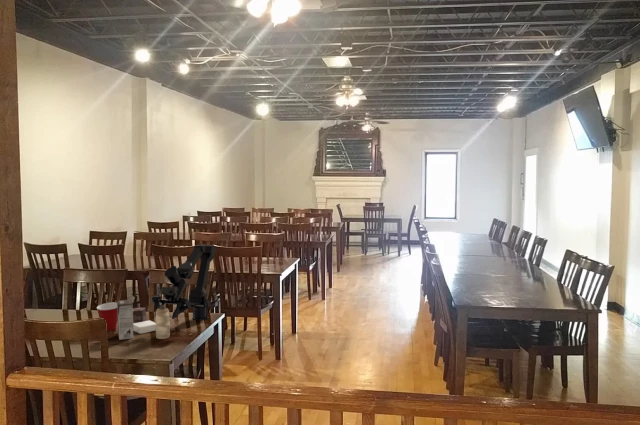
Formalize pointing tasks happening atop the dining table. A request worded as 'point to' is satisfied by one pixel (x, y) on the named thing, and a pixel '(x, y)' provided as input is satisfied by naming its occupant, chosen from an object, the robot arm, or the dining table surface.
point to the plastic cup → (109, 314)
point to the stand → (144, 327)
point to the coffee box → (125, 319)
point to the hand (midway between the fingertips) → (163, 317)
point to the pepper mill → (162, 323)
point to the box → (139, 315)
